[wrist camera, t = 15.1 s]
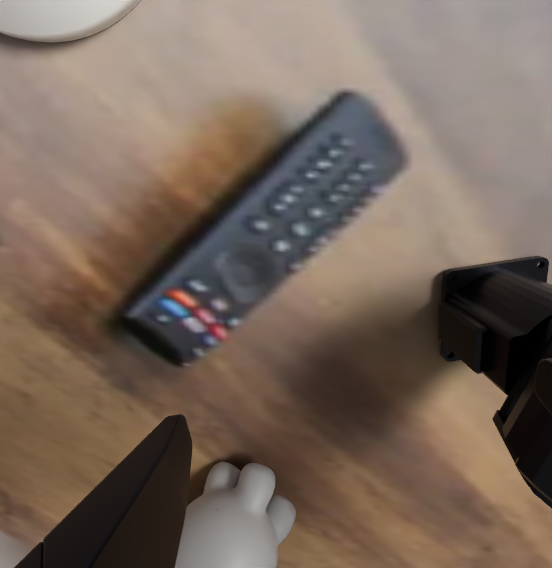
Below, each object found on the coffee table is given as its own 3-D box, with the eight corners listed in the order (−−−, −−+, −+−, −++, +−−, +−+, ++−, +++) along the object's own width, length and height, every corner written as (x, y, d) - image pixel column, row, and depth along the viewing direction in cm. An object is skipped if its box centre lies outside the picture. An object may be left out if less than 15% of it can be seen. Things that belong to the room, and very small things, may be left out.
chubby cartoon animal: (150, 448, 28) (63, 562, 21) (276, 449, 23) (219, 600, 16) (186, 507, 30) (119, 629, 23) (309, 520, 25) (273, 681, 18)
